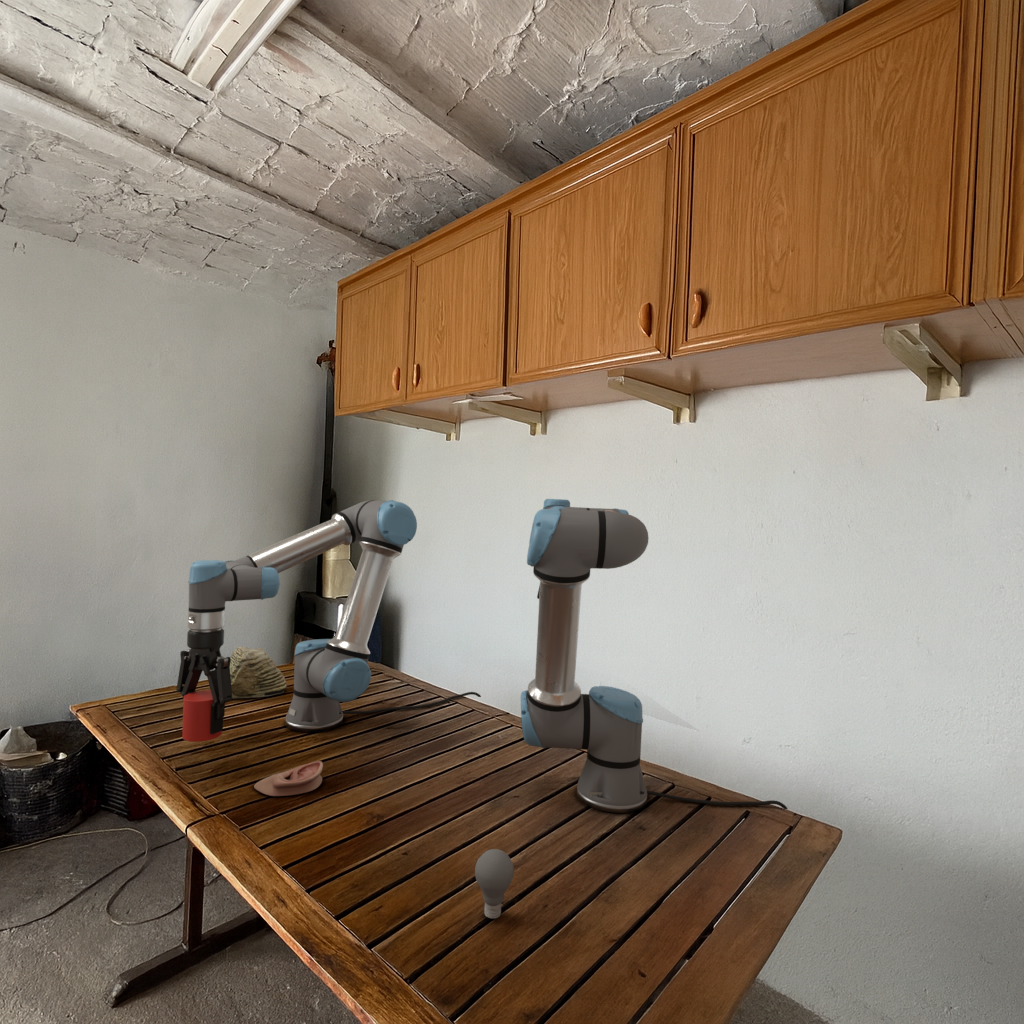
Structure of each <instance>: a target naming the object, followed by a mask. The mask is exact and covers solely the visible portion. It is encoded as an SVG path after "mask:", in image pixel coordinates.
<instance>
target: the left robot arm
mask: <svg viewBox="0 0 1024 1024" xmlns="http://www.w3.org/2000/svg"><path fill="white" fill-rule="evenodd" d="M417 529H418V520H417V516H416V515H415V513H414V511H413V508H411V507H410V506H409V505H408V504H406V503H404V502H401V501H398V500H397V501H396V500H393V499H391V500H381V499H368V500H364V501H361V502H359V503H357V504H354V505H352V506H349V507H348V508H345V509H343V510H341V511H338V512H336V513H334V514H332V516H331V519H329V520H326V521H324V522H322V523H320V524H318V525H315V526H313V527H310V528H308V529H306V530H303V531H301V532H299V533H295V534H294V535H292V536H289V537H287V538H284V539H282V540H280V541H278V542H275V543H273V544H271V545H268V546H265V547H264V548H261V549H259V550H256V551H254V552H252V553H250V554H248V555H245V556H242V557H240V558H237V559H235V560H225V561H224V560H218V559H217V560H216V559H211V560H210V559H205V560H204V559H202V560H196V561H193V562H192V563H191V564H190V567H189V575H188V576H189V577H188V614H187V615H188V617H187V629H189V630H188V631H187V634H186V635H187V636H186V637H187V638H186V646H187V648H189V649H185V650H181V651H180V652H179V653H180V654H179V655H180V656H179V657H180V664H179V670H178V676H177V682H176V684H177V685H176V689H175V691H176V692H177V693H178V694H179V693H180V694H181V697H182V698H183V699H184V696H185V695H187V694H189V693H192V692H196V691H197V686H198V684H199V681H200V678H201V675H202V674H204V676H205V677H206V678H207V681H208V685H209V690H211V693H212V697H213V701H214V703H213V704H211V721H210V734H215V733H217V732H220V731H222V732H223V730H224V718H225V713H226V703H229V702H232V701H233V699H234V698H232V687H231V677H230V662H231V658H230V657H231V656H223V655H222V652H221V647H222V646H223V645H224V644H225V630H224V627H225V626H226V625H225V623H226V621H225V620H226V602H235V601H236V602H238V601H251V600H252V601H253V600H260V601H263V600H266V599H273V598H275V597H276V596H277V595H278V593H279V590H280V584H281V583H280V575H279V574H280V573H282V572H284V571H286V570H288V569H290V568H293V567H296V566H297V565H300V564H302V563H304V562H306V561H308V560H310V559H312V558H315V557H317V556H319V555H322V554H324V553H327V552H328V551H330V550H332V549H335V548H337V547H339V546H341V545H344V546H349V545H352V544H355V543H357V542H359V545H360V547H361V549H362V551H361V555H360V558H359V561H358V564H357V567H356V570H355V574H354V576H353V577H354V578H353V579H352V583H351V586H350V589H349V593H348V596H347V599H346V601H345V604H344V607H343V610H342V613H341V614H342V615H341V617H340V621H339V624H338V627H337V630H336V633H335V636H333V637H332V638H319V639H308V640H303V641H300V642H297V644H296V645H295V650H294V655H293V656H294V672H293V695H292V696H293V697H292V699H291V702H290V704H289V708H288V711H287V713H286V715H285V726H286V728H287V729H289V730H291V731H294V732H295V731H296V732H301V733H316V732H325V731H329V730H332V729H335V728H337V727H339V726H340V725H342V723H343V722H344V715H368V714H376V713H383V712H387V711H388V712H389V711H398V710H399V711H400V710H416V709H422V708H428V707H433V706H437V705H440V704H443V703H446V702H448V701H451V700H454V699H458V698H462V697H466V696H469V695H473V696H476V697H478V698H481V697H482V695H481V694H480V693H478V692H476V691H468V692H464V693H460V694H456V695H452V696H449V697H446V698H444V699H441V700H438V701H434V702H430V703H425V704H420V705H419V704H418V705H409V706H408V705H406V706H390V707H385V708H384V707H383V708H379V709H371V710H343V709H342V706H341V703H348V702H349V703H350V702H353V701H354V700H356V699H358V698H359V697H361V696H362V695H363V694H364V693H365V692H366V690H367V689H368V688H369V686H370V683H371V680H372V670H371V669H370V665H369V664H368V662H369V658H370V655H371V651H370V649H369V647H368V644H369V643H368V642H369V641H370V640H369V639H370V636H371V634H372V629H373V626H374V623H375V621H376V617H377V613H378V610H379V608H380V603H381V601H382V597H383V595H384V591H385V588H386V585H387V582H388V578H389V575H390V572H391V569H392V566H393V562H394V560H395V559H396V558H398V557H400V556H401V555H402V552H403V549H404V546H405V545H407V544H408V543H409V542H411V541H412V540H413V539H414V537H415V536H416V533H417ZM183 699H182V700H183Z"/></svg>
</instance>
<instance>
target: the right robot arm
mask: <svg viewBox="0 0 1024 1024" xmlns="http://www.w3.org/2000/svg"><path fill="white" fill-rule="evenodd" d="M531 525H532V526H531V531H530V535H529V541H528V542H529V543H528V548H527V555H526V564H527V565H528V566H530V567H532V568H533V569H532V570H533V571H532V573H533V576H534V577H535V578H536V579H537V580H539V588H538V591H537V596H536V599H538V616H537V633H536V635H537V637H536V655H535V656H536V657H535V672H534V673H535V677H534V678H533V679H532V680H531V681H529V683H528V685H527V689H526V690H523V691H521V694H520V713H521V714H520V717H521V728H522V730H521V731H522V737H523V740H524V742H525V743H526V744H527V745H528V746H529V747H537V748H541V749H547V748H551V749H567V750H569V749H570V750H585V751H586V761H585V762H584V764H583V768H582V771H581V772H580V776H579V778H578V781H577V784H576V785H577V786H576V795H577V798H578V799H579V800H580V802H582V803H584V804H585V805H587V806H588V807H591V808H592V809H595V810H599V811H602V812H606V813H613V814H614V813H616V814H624V813H625V814H627V813H632V812H637V811H639V810H641V809H643V808H644V807H645V806H646V805H647V804H648V795H649V796H655V797H661V798H665V799H670V800H675V801H680V802H686V803H687V802H688V803H694V804H703V805H714V806H766V805H778V806H779V807H781V808H782V809H783V810H788V809H789V808H788V807H787V805H785V803H783V802H781V801H778V800H774V799H773V800H763V801H762V800H761V801H749V800H748V801H747V800H745V801H717V800H708V799H707V800H705V799H698V798H690V797H683V796H677V795H673V794H667V793H664V792H663V793H662V792H657V791H652V790H648V789H647V785H646V782H645V778H644V773H643V770H642V766H641V755H642V754H641V752H642V732H643V723H644V717H643V716H644V715H643V703H642V701H641V699H640V698H639V697H638V696H637V695H635V694H633V693H631V692H629V691H627V690H624V689H621V688H618V687H613V686H608V685H598V686H597V685H594V686H592V687H590V689H589V691H588V693H582V689H581V687H580V685H579V684H578V683H577V682H576V669H577V654H578V643H579V629H580V627H579V626H580V613H581V601H582V585H583V584H584V583H585V582H586V581H588V580H589V579H590V578H591V569H598V570H599V569H600V570H603V569H605V570H609V569H617V568H622V567H624V566H627V565H630V564H631V563H633V562H635V561H637V560H638V559H639V558H641V557H642V555H643V554H644V553H645V551H646V549H647V547H648V544H649V539H650V538H649V532H648V529H647V526H646V525H645V523H644V522H642V520H640V518H638V517H636V516H634V515H632V514H629V511H628V510H627V509H622V508H621V509H620V508H604V507H603V508H599V507H581V506H580V507H578V506H571V502H570V500H568V499H561V498H556V499H555V498H545V499H544V501H543V508H542V509H539V510H538V511H537V512H536V513H535V514H534V517H533V521H532V524H531Z"/></svg>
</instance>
